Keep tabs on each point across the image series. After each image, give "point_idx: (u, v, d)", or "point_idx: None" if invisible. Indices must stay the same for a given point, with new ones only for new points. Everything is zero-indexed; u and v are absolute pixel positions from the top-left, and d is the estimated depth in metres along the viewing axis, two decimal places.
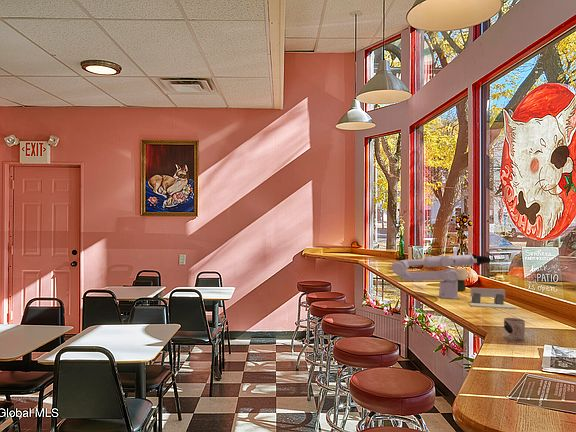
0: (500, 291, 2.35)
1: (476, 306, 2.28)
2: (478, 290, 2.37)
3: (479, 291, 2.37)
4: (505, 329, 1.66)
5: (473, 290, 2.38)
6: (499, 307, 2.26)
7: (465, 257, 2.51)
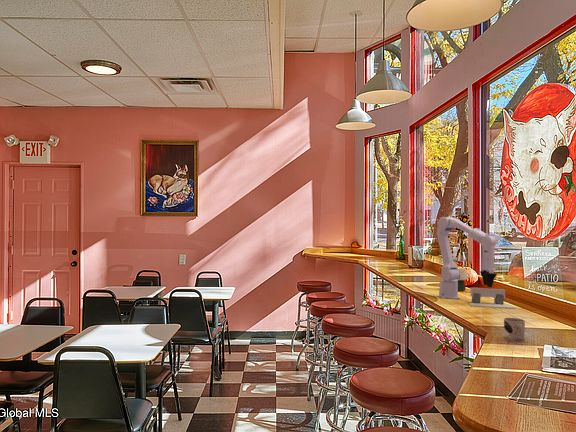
0: (500, 291, 2.35)
1: (476, 306, 2.28)
2: (478, 290, 2.37)
3: (479, 291, 2.37)
4: (505, 329, 1.66)
5: (473, 290, 2.38)
6: (499, 307, 2.26)
7: (492, 263, 2.35)
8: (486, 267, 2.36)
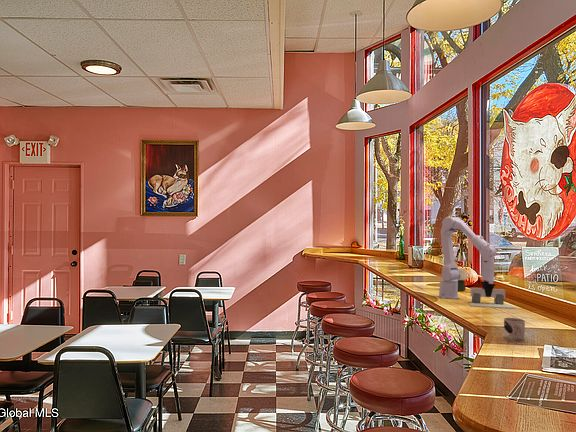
0: (500, 291, 2.35)
1: (476, 306, 2.28)
2: (478, 290, 2.37)
3: (479, 291, 2.37)
4: (505, 329, 1.66)
5: (473, 290, 2.38)
6: (499, 307, 2.26)
7: (492, 273, 2.35)
8: (486, 277, 2.36)
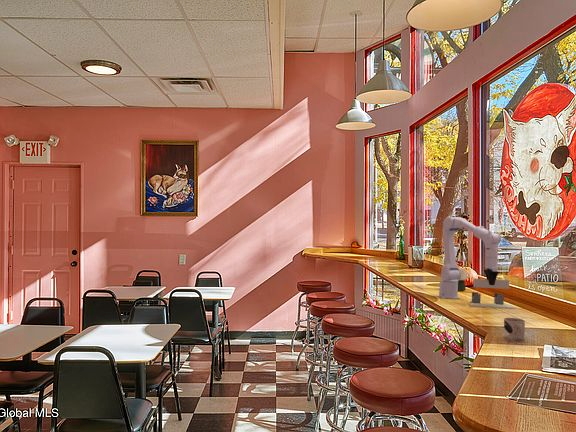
0: (504, 282, 2.29)
1: (476, 306, 2.28)
2: (481, 281, 2.31)
3: (482, 281, 2.31)
4: (505, 329, 1.66)
5: (476, 281, 2.31)
6: (499, 307, 2.26)
7: (496, 261, 2.29)
8: (489, 265, 2.30)
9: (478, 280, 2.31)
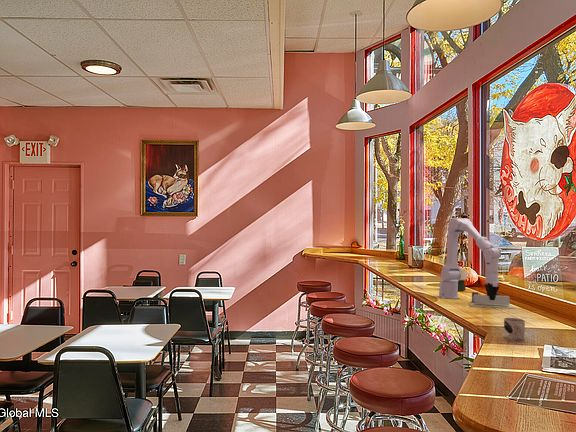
0: (504, 298, 2.27)
1: (476, 306, 2.28)
2: (481, 297, 2.29)
3: (482, 298, 2.29)
4: (505, 329, 1.66)
5: (476, 297, 2.30)
6: (499, 307, 2.26)
7: (496, 275, 2.28)
8: (490, 280, 2.28)
9: (478, 296, 2.30)
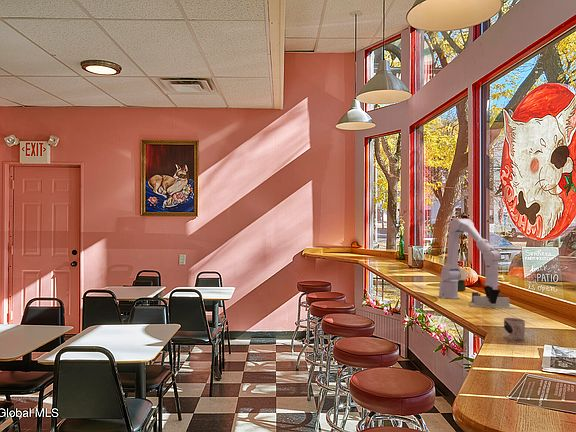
0: (504, 299, 2.27)
1: (476, 306, 2.28)
2: (481, 298, 2.29)
3: (482, 299, 2.29)
4: (505, 329, 1.66)
5: (476, 298, 2.30)
6: (499, 307, 2.26)
7: (496, 278, 2.28)
8: (489, 283, 2.28)
9: (478, 297, 2.30)
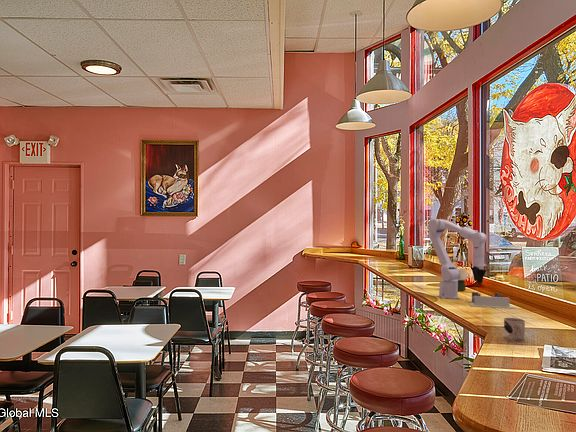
0: (504, 299, 2.27)
1: (476, 306, 2.28)
2: (481, 298, 2.29)
3: (482, 299, 2.29)
4: (505, 329, 1.66)
5: (476, 298, 2.30)
6: (499, 307, 2.26)
7: (482, 259, 2.40)
8: (476, 263, 2.40)
9: (478, 297, 2.30)
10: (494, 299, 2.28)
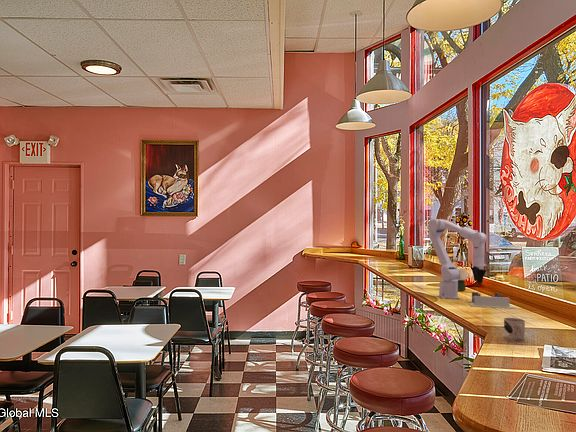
0: (504, 299, 2.27)
1: (476, 306, 2.28)
2: (481, 298, 2.29)
3: (482, 299, 2.29)
4: (505, 329, 1.66)
5: (476, 298, 2.30)
6: (499, 307, 2.26)
7: (482, 259, 2.40)
8: (476, 263, 2.40)
9: (478, 297, 2.30)
10: (494, 299, 2.28)
